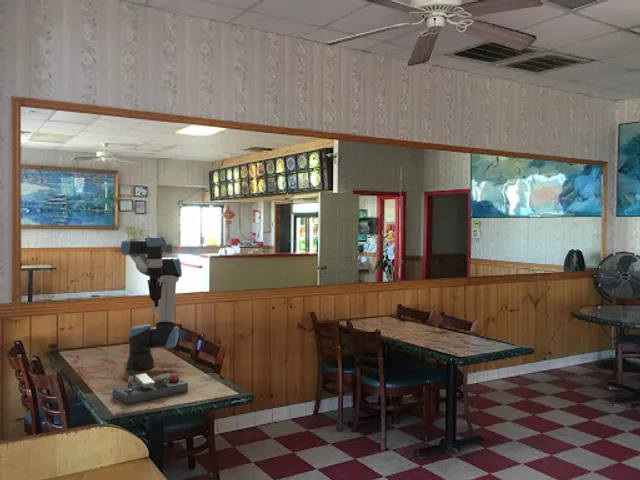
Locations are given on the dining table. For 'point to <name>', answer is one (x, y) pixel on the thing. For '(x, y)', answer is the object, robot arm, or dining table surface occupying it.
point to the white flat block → (144, 380)
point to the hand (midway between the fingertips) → (155, 312)
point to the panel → (149, 391)
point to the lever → (130, 378)
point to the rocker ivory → (161, 376)
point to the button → (174, 377)
